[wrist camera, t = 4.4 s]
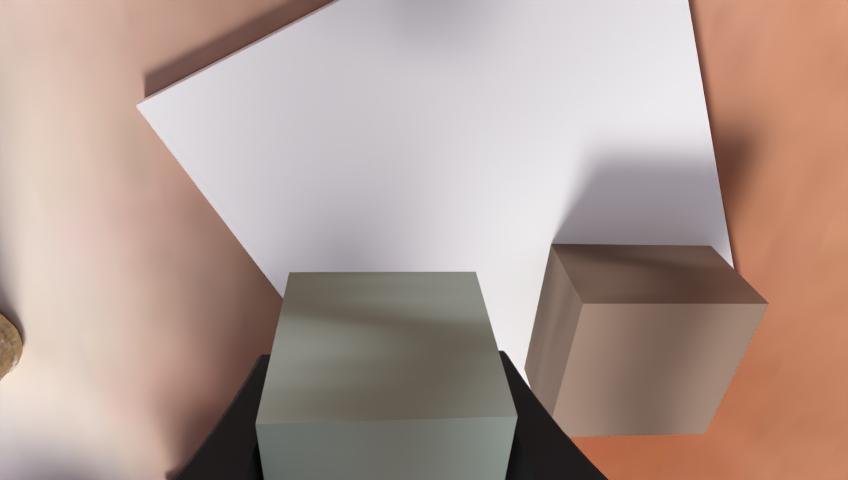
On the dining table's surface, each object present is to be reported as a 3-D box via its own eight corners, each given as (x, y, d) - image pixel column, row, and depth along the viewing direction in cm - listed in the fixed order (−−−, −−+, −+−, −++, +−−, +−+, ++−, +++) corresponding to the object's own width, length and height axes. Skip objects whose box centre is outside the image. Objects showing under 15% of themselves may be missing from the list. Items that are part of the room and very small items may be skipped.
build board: (411, 455, 30) (412, 468, 29) (143, 98, 19) (135, 105, 18) (737, 336, 27) (747, 347, 27) (647, -161, 16) (660, -164, 16)
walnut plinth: (523, 368, 26) (546, 437, 23) (551, 243, 23) (582, 303, 19) (663, 366, 27) (705, 433, 24) (710, 245, 23) (768, 303, 20)
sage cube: (300, 404, 15) (277, 570, 12) (289, 271, 13) (255, 423, 9) (460, 400, 16) (488, 558, 12) (475, 271, 14) (517, 416, 10)
